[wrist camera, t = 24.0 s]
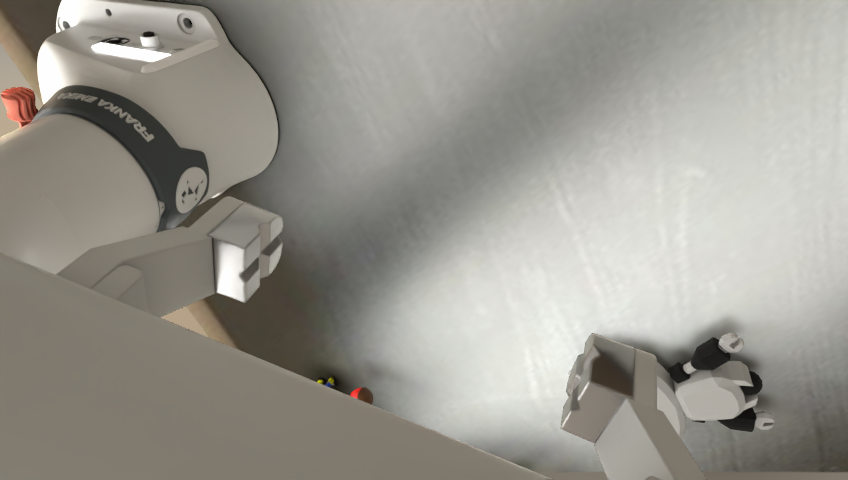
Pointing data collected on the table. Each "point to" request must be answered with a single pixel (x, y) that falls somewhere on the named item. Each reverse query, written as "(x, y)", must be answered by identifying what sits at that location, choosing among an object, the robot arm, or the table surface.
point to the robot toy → (712, 389)
